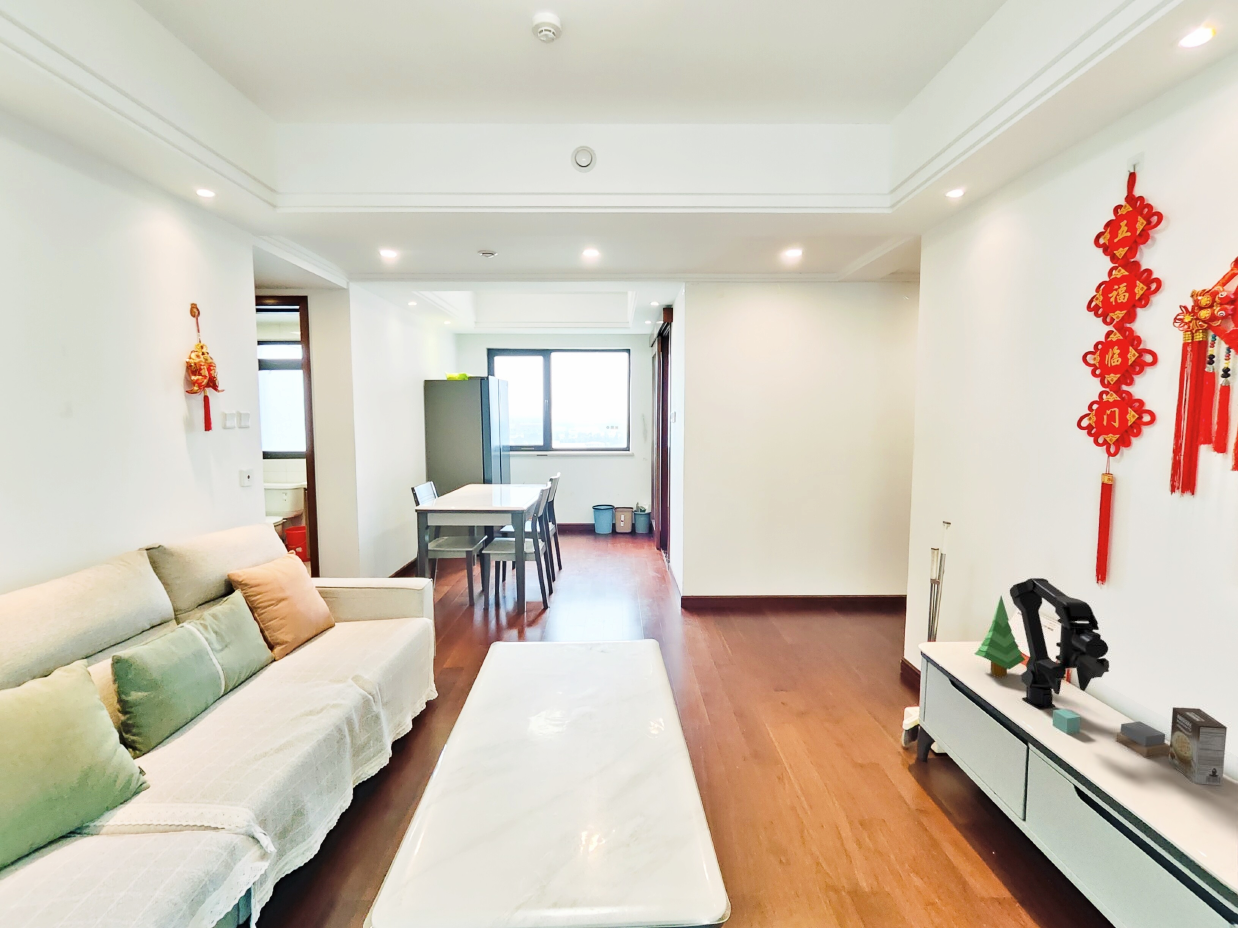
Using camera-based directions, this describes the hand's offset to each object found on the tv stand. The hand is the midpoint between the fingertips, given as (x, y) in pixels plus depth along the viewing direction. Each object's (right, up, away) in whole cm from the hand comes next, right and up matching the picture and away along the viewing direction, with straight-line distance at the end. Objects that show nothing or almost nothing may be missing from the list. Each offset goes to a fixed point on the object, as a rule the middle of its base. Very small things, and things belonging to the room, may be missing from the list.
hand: (1069, 692), depth 166 cm
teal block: (0, -12, +1) cm, 12 cm away
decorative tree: (+4, -9, +36) cm, 37 cm away
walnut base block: (+14, -13, -9) cm, 21 cm away
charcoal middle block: (+14, -10, -9) cm, 19 cm away
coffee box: (+17, -13, -20) cm, 29 cm away
